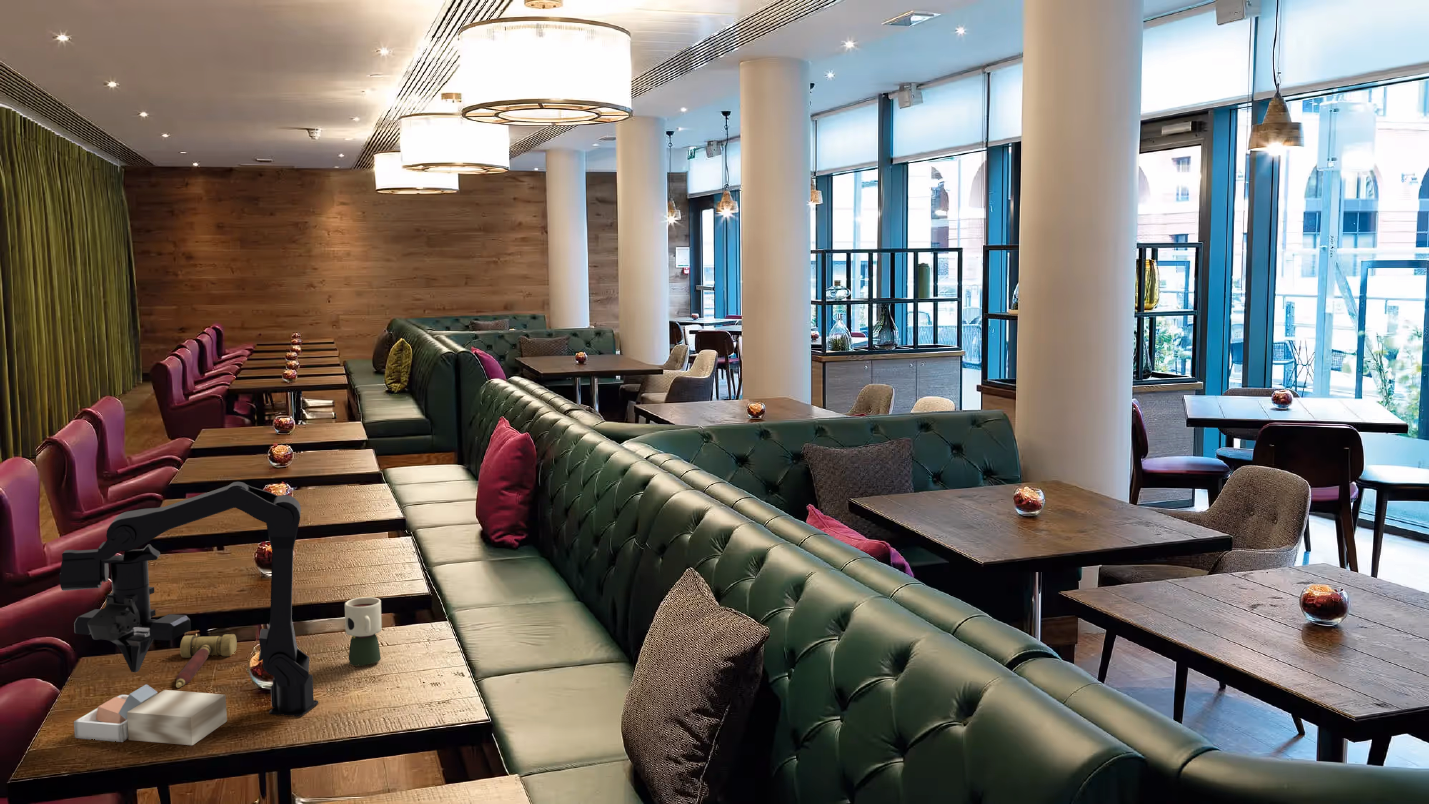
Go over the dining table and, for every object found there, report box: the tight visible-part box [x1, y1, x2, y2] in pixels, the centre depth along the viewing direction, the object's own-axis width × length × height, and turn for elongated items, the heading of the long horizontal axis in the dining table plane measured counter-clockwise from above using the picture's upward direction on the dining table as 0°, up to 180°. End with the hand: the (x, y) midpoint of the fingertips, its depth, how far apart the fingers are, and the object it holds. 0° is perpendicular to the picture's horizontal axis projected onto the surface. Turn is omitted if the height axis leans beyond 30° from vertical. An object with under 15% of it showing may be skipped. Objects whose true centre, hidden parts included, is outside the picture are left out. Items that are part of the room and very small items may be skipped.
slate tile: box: [118, 684, 158, 720], centre depth 196 cm, size 4×4×2 cm
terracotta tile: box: [96, 696, 126, 724], centre depth 197 cm, size 4×4×2 cm
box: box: [73, 694, 129, 743], centre depth 196 cm, size 9×12×3 cm
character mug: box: [344, 596, 382, 667], centre depth 226 cm, size 11×7×13 cm, turn 27°
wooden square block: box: [127, 689, 228, 746], centre depth 194 cm, size 12×10×5 cm
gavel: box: [175, 633, 238, 689], centre depth 223 cm, size 21×5×10 cm
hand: (135, 671), depth 194 cm, fingers closed
